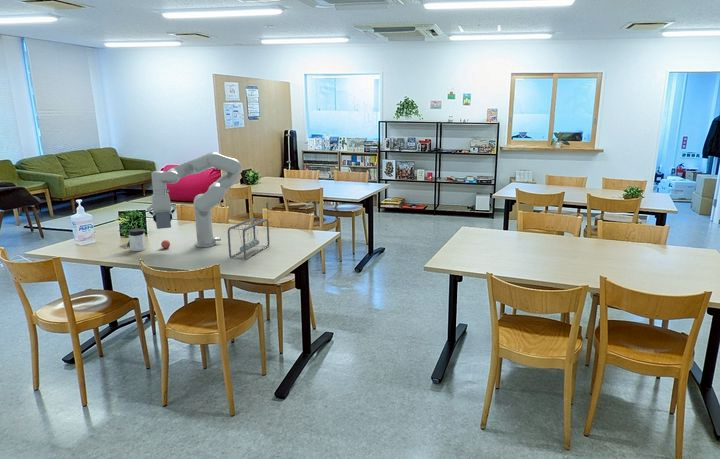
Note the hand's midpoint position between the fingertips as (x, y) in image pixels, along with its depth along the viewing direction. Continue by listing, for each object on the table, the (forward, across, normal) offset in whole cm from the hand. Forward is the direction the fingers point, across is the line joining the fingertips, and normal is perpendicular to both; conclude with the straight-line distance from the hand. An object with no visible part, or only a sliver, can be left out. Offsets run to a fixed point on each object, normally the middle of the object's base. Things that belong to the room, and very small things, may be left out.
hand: (163, 221), depth 296 cm
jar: (+17, +15, -5) cm, 23 cm away
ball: (+14, 0, 0) cm, 14 cm away
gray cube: (+3, 0, 0) cm, 3 cm away
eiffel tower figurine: (+18, +19, -17) cm, 31 cm away
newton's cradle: (+17, -44, +29) cm, 56 cm away
